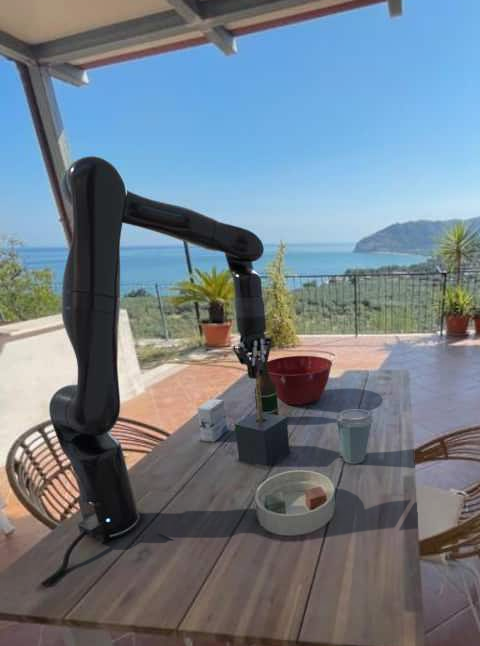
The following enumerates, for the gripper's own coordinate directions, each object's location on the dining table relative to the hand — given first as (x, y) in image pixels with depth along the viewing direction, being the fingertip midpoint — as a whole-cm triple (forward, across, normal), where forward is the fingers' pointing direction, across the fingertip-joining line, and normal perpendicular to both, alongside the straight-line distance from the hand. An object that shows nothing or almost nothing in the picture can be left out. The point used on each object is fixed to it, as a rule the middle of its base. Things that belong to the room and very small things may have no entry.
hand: (256, 376), depth 108 cm
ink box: (+26, -4, -24) cm, 35 cm away
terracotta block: (+25, +15, +28) cm, 40 cm away
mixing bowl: (+26, -45, -18) cm, 55 cm away
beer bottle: (+26, -22, -16) cm, 37 cm away
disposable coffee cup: (+26, -11, +25) cm, 38 cm away
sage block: (+25, +21, +20) cm, 38 cm away
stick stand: (+26, 0, 0) cm, 26 cm away
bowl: (+26, +18, +24) cm, 39 cm away
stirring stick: (+16, 0, 0) cm, 16 cm away
